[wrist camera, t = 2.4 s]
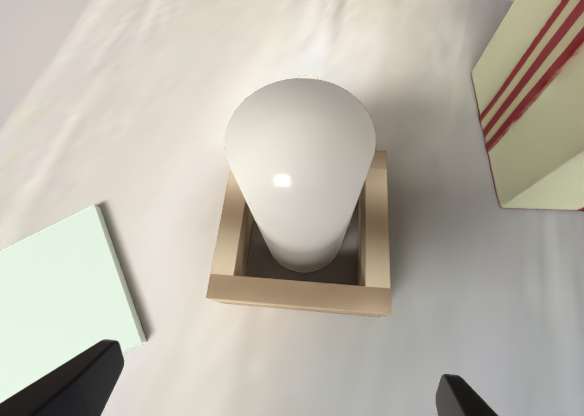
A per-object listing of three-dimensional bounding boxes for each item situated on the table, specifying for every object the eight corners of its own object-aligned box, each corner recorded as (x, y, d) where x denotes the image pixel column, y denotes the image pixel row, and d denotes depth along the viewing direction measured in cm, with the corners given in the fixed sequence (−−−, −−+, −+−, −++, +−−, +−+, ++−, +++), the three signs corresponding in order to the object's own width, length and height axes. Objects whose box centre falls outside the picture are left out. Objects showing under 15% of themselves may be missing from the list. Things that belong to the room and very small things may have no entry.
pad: (147, 341, 22) (141, 342, 21) (-26, 441, 20) (-38, 445, 19) (100, 207, 26) (94, 204, 25) (-46, 280, 24) (-57, 278, 24)
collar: (378, 317, 22) (391, 313, 18) (221, 302, 23) (206, 297, 19) (376, 174, 26) (386, 151, 23) (243, 167, 27) (234, 144, 24)
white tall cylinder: (341, 275, 23) (377, 210, 11) (261, 269, 23) (211, 200, 11) (344, 177, 26) (374, 42, 14) (273, 173, 26) (244, 40, 14)
